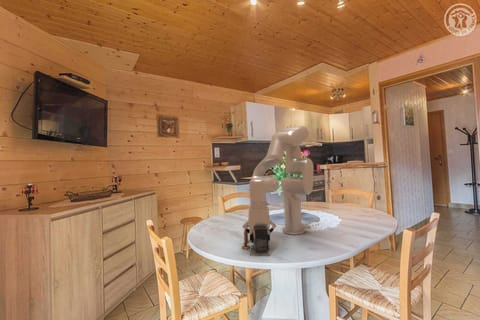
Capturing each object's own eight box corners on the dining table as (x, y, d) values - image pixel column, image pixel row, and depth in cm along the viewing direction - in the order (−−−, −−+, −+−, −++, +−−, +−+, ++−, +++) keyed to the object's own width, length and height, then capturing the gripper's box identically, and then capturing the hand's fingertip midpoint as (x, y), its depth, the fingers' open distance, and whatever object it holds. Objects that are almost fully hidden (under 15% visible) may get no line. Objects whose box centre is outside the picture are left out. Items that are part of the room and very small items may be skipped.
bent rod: (259, 237, 124) (258, 221, 124) (248, 250, 109) (247, 231, 109) (251, 236, 126) (250, 220, 126) (238, 248, 111) (238, 230, 111)
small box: (252, 242, 113) (251, 221, 113) (265, 241, 114) (264, 220, 113) (255, 251, 103) (253, 228, 102) (269, 250, 103) (268, 227, 103)
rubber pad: (269, 245, 113) (269, 244, 113) (270, 255, 102) (270, 254, 102) (251, 245, 114) (251, 244, 114) (250, 255, 103) (250, 254, 103)
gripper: (276, 202, 110) (278, 238, 111) (240, 203, 112) (242, 239, 113) (277, 206, 103) (279, 245, 103) (239, 207, 105) (241, 245, 105)
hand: (260, 241), depth 108 cm, fingers closed on small box, 6 cm apart
